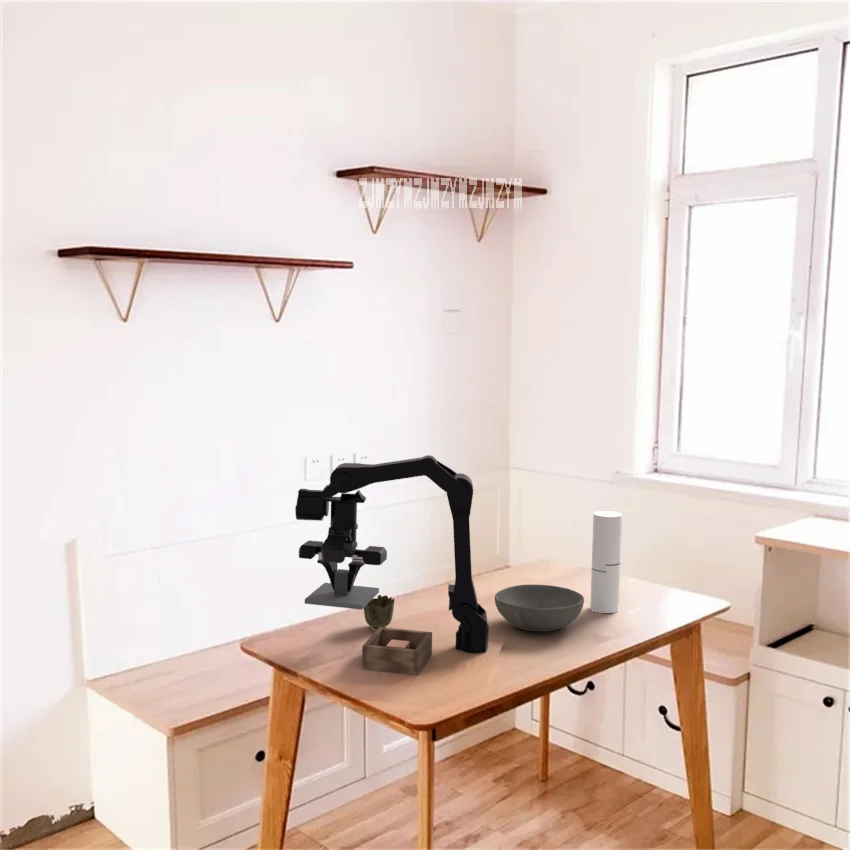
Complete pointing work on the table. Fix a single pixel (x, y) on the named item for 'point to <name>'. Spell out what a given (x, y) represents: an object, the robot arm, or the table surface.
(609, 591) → the cylindrical container
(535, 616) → the bowl
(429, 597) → the table surface
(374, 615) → the cup
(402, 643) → the terracotta cube
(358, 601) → the lid
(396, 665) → the walnut box
